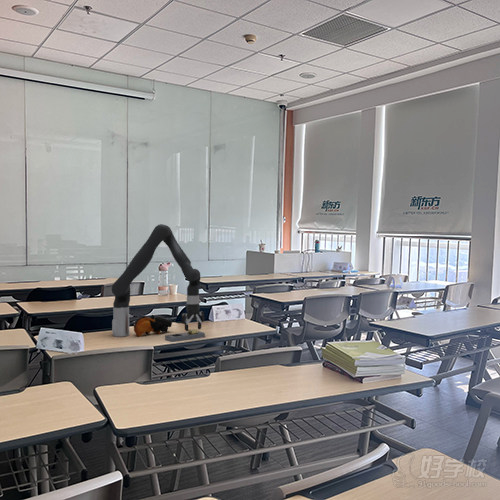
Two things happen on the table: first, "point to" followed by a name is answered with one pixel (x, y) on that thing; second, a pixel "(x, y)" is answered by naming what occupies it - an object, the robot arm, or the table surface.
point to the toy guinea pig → (151, 325)
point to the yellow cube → (192, 331)
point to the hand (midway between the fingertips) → (193, 330)
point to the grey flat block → (183, 336)
